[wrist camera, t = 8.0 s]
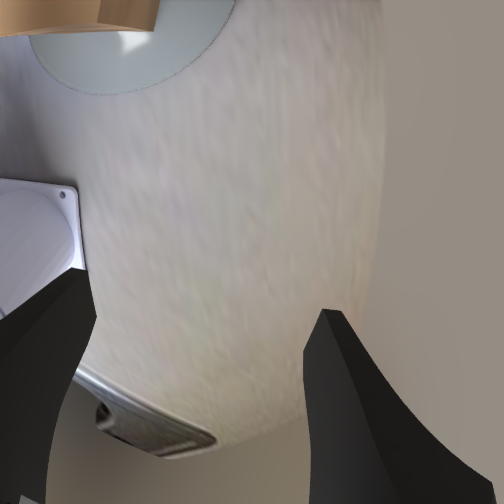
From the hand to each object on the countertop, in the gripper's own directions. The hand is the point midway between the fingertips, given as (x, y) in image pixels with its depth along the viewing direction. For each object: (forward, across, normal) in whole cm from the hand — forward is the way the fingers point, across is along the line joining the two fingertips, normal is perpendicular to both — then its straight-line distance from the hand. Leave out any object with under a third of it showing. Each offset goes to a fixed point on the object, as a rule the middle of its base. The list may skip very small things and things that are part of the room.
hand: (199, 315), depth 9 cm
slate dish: (+10, +7, -11) cm, 16 cm away
